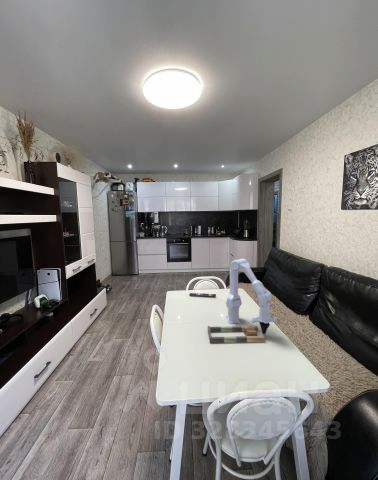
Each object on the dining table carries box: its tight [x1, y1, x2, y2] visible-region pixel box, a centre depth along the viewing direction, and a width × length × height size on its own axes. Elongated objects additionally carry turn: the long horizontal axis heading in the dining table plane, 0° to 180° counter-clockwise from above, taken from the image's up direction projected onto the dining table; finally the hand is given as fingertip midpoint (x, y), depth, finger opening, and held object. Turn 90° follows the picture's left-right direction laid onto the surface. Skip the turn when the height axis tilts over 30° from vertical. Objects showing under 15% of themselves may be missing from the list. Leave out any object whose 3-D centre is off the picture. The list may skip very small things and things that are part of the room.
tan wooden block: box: [243, 325, 258, 336], centre depth 128 cm, size 6×6×4 cm
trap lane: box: [207, 325, 265, 344], centre depth 128 cm, size 13×31×3 cm, turn 91°
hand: (263, 333), depth 128 cm, fingers closed
